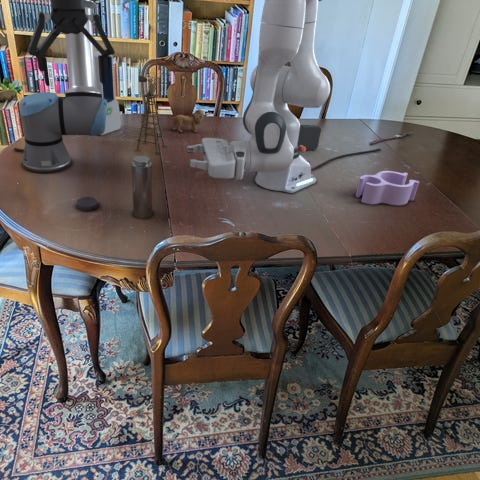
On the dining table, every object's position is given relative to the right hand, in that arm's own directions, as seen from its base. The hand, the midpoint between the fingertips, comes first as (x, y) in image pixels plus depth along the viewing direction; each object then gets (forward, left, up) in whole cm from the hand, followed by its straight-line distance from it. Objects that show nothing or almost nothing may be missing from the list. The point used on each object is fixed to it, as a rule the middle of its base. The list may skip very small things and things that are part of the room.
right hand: (188, 156), depth 130 cm
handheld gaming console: (-64, -26, -18) cm, 72 cm away
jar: (+12, -5, -18) cm, 22 cm away
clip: (-66, +21, -18) cm, 72 cm away
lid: (+24, -17, -17) cm, 34 cm away
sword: (-117, -17, -18) cm, 120 cm away
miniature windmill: (-12, -49, -18) cm, 54 cm away
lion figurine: (-35, -61, -18) cm, 73 cm away
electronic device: (-4, -74, -18) cm, 76 cm away
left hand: (+24, -17, +17) cm, 34 cm away
